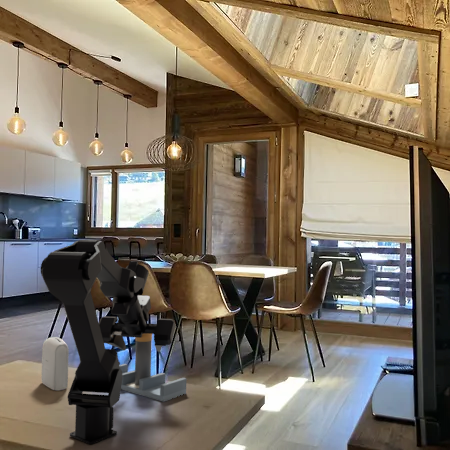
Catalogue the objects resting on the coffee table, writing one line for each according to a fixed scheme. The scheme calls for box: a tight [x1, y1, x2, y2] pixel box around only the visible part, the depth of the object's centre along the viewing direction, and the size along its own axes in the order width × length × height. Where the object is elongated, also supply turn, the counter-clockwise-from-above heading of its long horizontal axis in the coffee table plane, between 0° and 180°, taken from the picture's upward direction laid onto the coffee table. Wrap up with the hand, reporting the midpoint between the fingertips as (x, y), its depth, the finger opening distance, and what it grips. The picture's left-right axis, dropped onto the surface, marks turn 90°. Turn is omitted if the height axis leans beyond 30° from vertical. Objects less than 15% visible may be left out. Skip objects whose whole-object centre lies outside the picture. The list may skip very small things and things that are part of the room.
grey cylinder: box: [134, 333, 153, 385], centre depth 122 cm, size 4×4×13 cm
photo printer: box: [41, 336, 70, 391], centre depth 122 cm, size 10×4×12 cm, turn 39°
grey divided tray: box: [119, 363, 187, 402], centre depth 121 cm, size 8×23×4 cm, turn 53°
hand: (142, 349), depth 121 cm, fingers open, 9 cm apart
